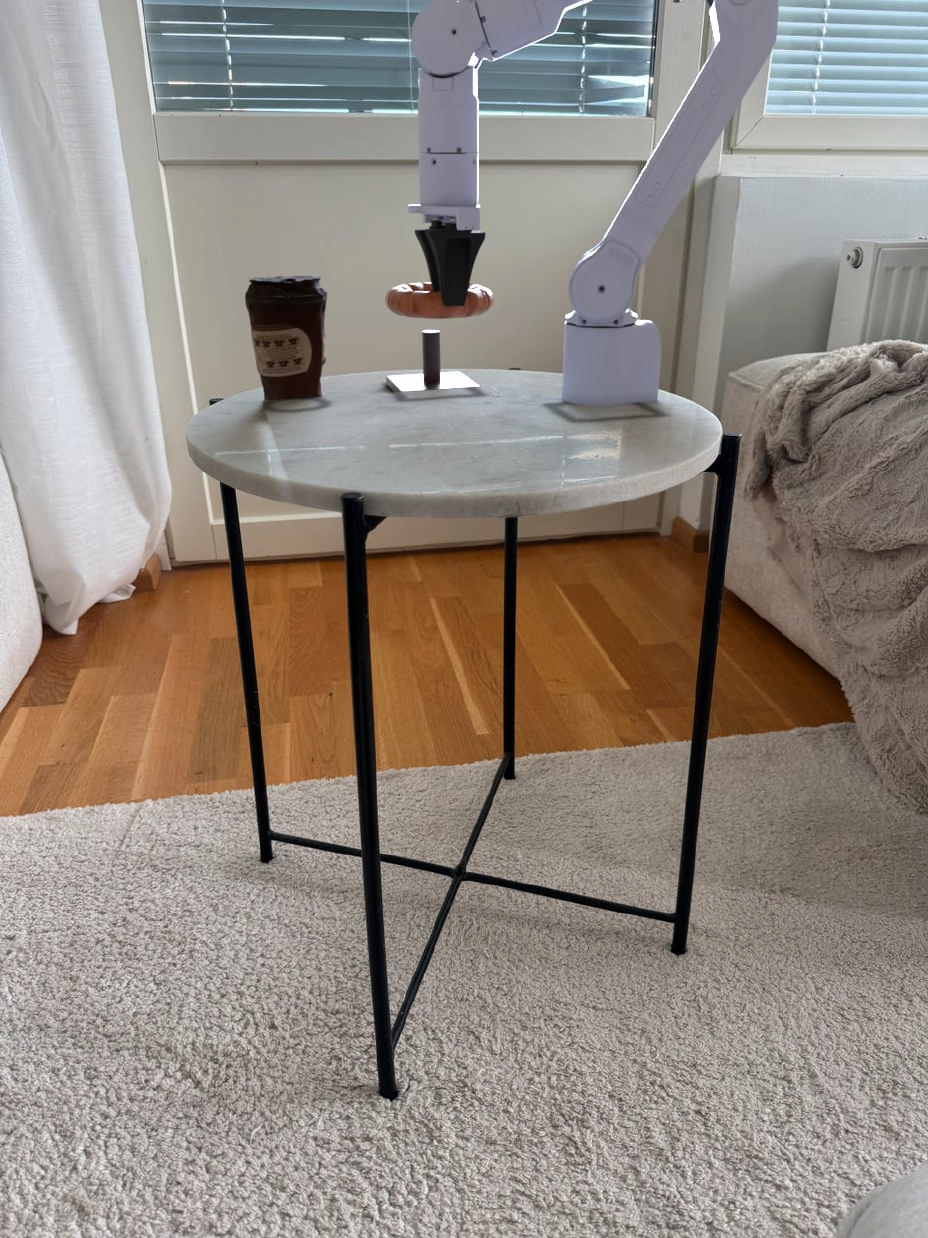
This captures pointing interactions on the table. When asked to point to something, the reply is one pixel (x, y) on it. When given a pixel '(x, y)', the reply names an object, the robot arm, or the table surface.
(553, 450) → the table surface
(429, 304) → the ring
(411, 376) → the stand
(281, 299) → the coffee cup
